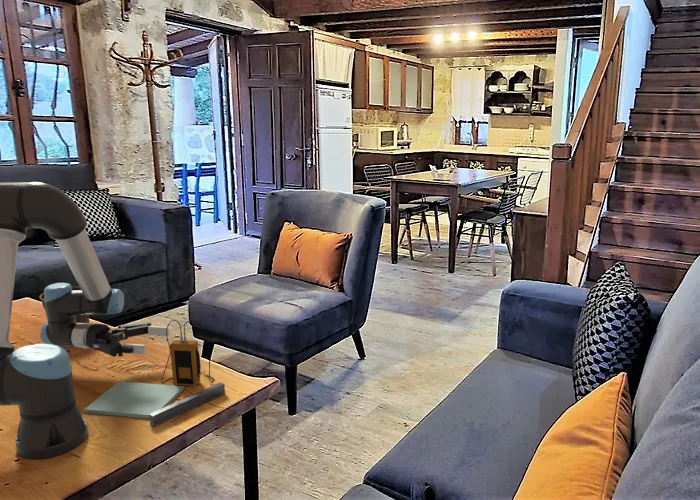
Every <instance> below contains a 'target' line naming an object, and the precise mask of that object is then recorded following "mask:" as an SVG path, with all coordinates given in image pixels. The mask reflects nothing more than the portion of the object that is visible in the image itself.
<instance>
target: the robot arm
mask: <svg viewBox="0 0 700 500" xmlns="http://www.w3.org/2000/svg"><path fill="white" fill-rule="evenodd" d="M87 224H88V223H87V220H86V217H85V216H84V213H83V211H82V210H81V208H80V207H79V206H78V204H77V203H76V202H75V201H74V200H73V199H72V198H71V197H69V195H67V194H66V193H65V192H64V191H63V190H61V189H59V188H57V187H56V186H53V185H51V184H49V183H45V182H41V181H30V182H29V181H25V182H20V181H19V182H9V181H8V182H0V407H1V406H3V407H4V406H5V407H6V406H18V409H19V410H18V411H19V417H20V418H19V424H18V429H17V433H16V435H17V436H16V438H15V447H16V448H15V449H16V452H17V454H18V456H20V457H22V458H24V459H29V460H30V459H32V460H41V459H48V458H53V457H57V456H60V455H62V454H63V455H64V454H65V453H67V452H70V451H72V450H73V449H75V448H77V447H79V445H81V444H82V443H83V442H84V441H85V440H86V439H87V436H88V435H89V430H88V424H87V423H88V422H87V421H86V419H85V418H84V417H82V413H81V410H80V408H79V407H78V405H77V403H76V397H75V396H76V395H75V393H76V392H75V388H74V379H73V368H72V367H73V365H72V364H71V361H70V360H71V359H70V356H69V353H68V352H67V350H66V349H65V348H79V349H80V348H83V349H84V350H87V349H91V350H92V349H93V350H94V351H98V352H102V353H105V354H107V355H108V356H111V357H114V358H115V357H123V356H124V355H123V354H130V355H132V354H133V355H146V354H147V351H146V344H138V343H126V342H125V343H122V344H121V343H120V342H122V341H125V340H128V338H133V337H137V336H142V335H147V334H148V336H161V337H166V329H167V326H156V325H152V322H144V323H135V324H133V323H132V324H119V325H117V328H113V329H111V328H110V327H109V325H108V324H105V323H91V322H89V323H78V322H76V320H75V318H76V317H75V315H89V316H92V315H115V314H120V313H121V312H123V310H124V305H125V294H124V292H123V291H122V290H121V289H120V288H112V287H111V284H109V281H108V279H107V276H106V274H105V272H104V270H103V267H102V265H101V263H100V260H99V258H98V255H97V253H96V251H95V249H94V247H93V244H92V242H91V240H90V237H89V235H88V233H87V231H86V228H87ZM28 229H29V230H30V229H33V230H34V229H41V230H44V231H46V233H47V234H48V237H49V238H51V239H53V240H55V241H56V244H57V246H58V248H59V249H60V251H61V253H62V255H63V257H64V259H65V260H66V263H67V264H68V267H69V268H70V271H71V272H72V274H73V276H74V279H75V280H76V282H77V285H78V287H80V288H81V290H72V287H73V286H72V285H71V284H70V283H68V282H67V283H66V282H56V283H52V284H49V285H47V286H46V287H45V288H44V290H43V293H44V299H45V301H44V303H45V306H46V312H45V314H46V313H47V316H46V320H47V319H48V320H47V321H46V322H44V323H43V325H42V326H41V328H40V331H41V332H40V333H39V336H40V337H39V338H40V340H41V341H42V343H35V344H34V343H33V344H32V345H31V344H30V345H24V346H20V347H18V348H16V346H14V345H13V344H12V343H11V342H10V340H9V338H10V337H9V336H10V327H11V318H12V307H13V298H14V297H13V296H14V290H15V289H14V288H15V280H16V279H15V277H16V268H17V261H18V259H17V258H18V252H19V251H18V250H19V245H20V243H22V242H23V241H24V240H26V238H27V232H28V231H27V230H28ZM169 336H170V329H169V326H168V329H167V337H169ZM15 348H16V349H15Z"/></svg>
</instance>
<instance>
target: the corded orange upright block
mask: <svg viewBox="0 0 700 500" xmlns="http://www.w3.org/2000/svg"><path fill="white" fill-rule="evenodd" d="M173 321H174V322H176V323H178V324H179V328H180V330H179V331H180V336H179V337H180V340H178V339H173V341H171V343H170V342H169V339H168V337H169V336H167V329H168V327H169V326H170V324H171V323H172V322H173ZM191 322H193V323H196V324H197V325H199V327H200V328H201V330H202V332H203V334H204V336H205V340H206V342H207V348H208V374H207V373H205V372H206V370H202V371H201V369H202V368H201V367H202V366H201V356H200V351H199V344H198V341H197V340H187V336H186V328H185V327H186V325H187V323H191ZM166 327H167V329H166V336H165V337H166V341H167V344H168V348H169V355H168V359H167V361H166V364H165V368H164V370H163V373H162V374H163V375H162V378H161V385H164V383H166V382H168V381H169V380H173V386H193V387H197V386H198V385H199V384H200V383H201V373H203V374H204V375H205V376H206V377H208V378H209V379H208V380H209V382H210V383H213V382H214V381H215V378H214V377H213V376H211V349H210V344H209V340H208V337H207V334H206V332H205V330H204V328H203V327H202V325H201V324H200V323H199V322H198V321H195V320H188V321H186V322H185V323H184V324H183V332H182V325H181V323H180V321H178V320H177V319H171V320H169V323H168V324H167V326H166ZM183 336H184V337H183ZM169 359H170V361H171V363H170V364H171V371H172V373H171V374H172V377H170V378H168V379H166V380H165V381H163V380H164V376H165V372H166V369H167V366H168V363H169ZM211 379H212V380H211Z"/></svg>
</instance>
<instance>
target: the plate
mask: <svg viewBox="0 0 700 500" xmlns="http://www.w3.org/2000/svg"><path fill="white" fill-rule="evenodd" d="M183 391H184V385H178V386H177V385H169V384H157V383H156V384H155V383H146V382H145V383H144V382H134V381H121V380H120V381H118V382H117V383H115V384H114V385H113V386H111V387H110V388H109V389H107V391H105V392H104V393H103V394H101V395H100V396H99V397H97V399H95V400H94V401H93V402H91V403H90V404H89V405H87V406H86V407H85V408H83V409H84V410H83V411H84V414H96V415H105V416H107V415H108V416H117V417H126V418H137V419H138V418H139V419H148V420H150V418H149V414H151V413H153V412H155V411H157V410H160V409H162V408H164V407H166V406H169V405H171V404H172V402H173V401H174V400H175V399H176V398H177V397H179V395H180V394H181V393H182V392H183Z"/></svg>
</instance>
